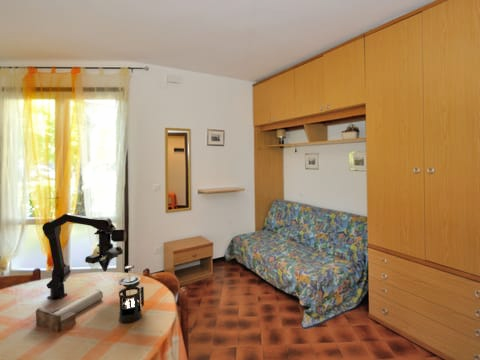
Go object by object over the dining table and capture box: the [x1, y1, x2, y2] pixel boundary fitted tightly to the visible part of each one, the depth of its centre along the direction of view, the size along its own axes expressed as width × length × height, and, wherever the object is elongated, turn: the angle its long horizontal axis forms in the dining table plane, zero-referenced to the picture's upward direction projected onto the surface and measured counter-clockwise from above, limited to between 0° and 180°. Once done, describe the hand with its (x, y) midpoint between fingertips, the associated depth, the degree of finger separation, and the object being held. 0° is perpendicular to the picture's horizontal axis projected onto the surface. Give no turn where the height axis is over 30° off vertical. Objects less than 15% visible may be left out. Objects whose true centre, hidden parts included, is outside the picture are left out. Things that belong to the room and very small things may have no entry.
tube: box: [55, 289, 104, 316], centre depth 123 cm, size 5×5×25 cm
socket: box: [35, 307, 77, 333], centre depth 113 cm, size 14×8×7 cm, turn 67°
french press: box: [118, 264, 145, 325], centre depth 117 cm, size 12×9×23 cm
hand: (105, 271), depth 142 cm, fingers closed
